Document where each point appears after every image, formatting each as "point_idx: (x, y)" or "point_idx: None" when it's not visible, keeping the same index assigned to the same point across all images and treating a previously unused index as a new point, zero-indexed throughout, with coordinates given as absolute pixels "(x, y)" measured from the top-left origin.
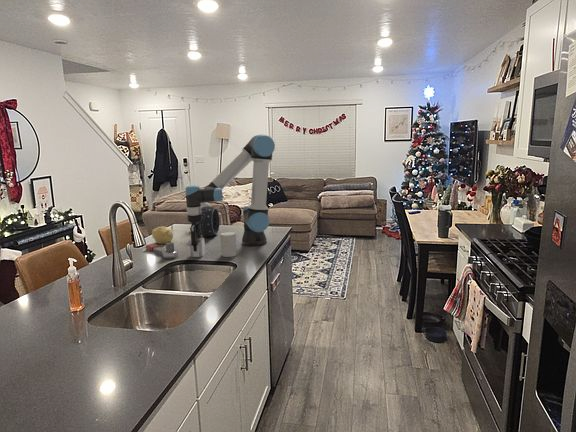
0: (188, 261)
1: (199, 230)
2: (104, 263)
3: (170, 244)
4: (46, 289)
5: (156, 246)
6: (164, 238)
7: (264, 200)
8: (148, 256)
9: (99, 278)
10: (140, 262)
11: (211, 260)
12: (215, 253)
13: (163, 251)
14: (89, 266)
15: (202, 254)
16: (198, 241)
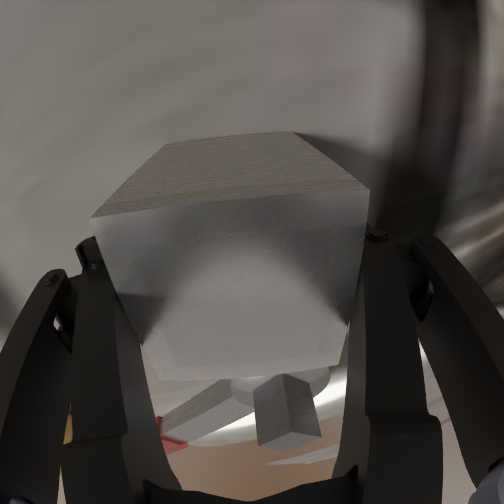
0: (402, 222)
1: (126, 458)
2: (314, 453)
3: (309, 430)
4: (447, 419)
5: (166, 440)
6: (68, 433)
7: None
8: (250, 422)
9: (442, 400)
10: (335, 410)
11: (407, 37)
12: (172, 35)
13: (247, 411)
14: (332, 456)
15: (297, 136)
16: (357, 243)
